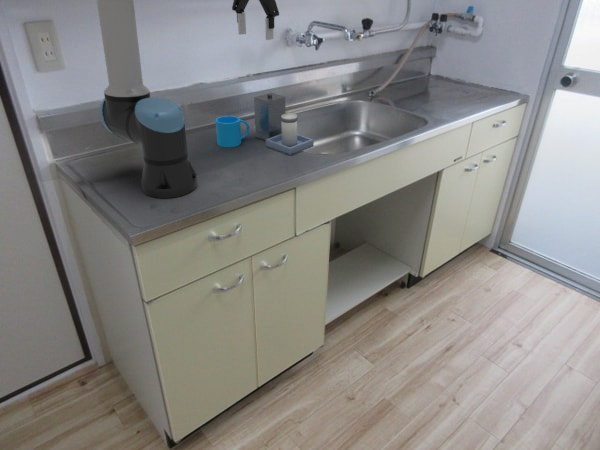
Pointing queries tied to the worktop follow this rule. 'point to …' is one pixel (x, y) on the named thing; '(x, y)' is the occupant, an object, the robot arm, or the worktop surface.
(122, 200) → the worktop surface
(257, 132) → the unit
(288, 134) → the cylinder
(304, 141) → the tray
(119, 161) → the worktop surface
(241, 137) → the mug
